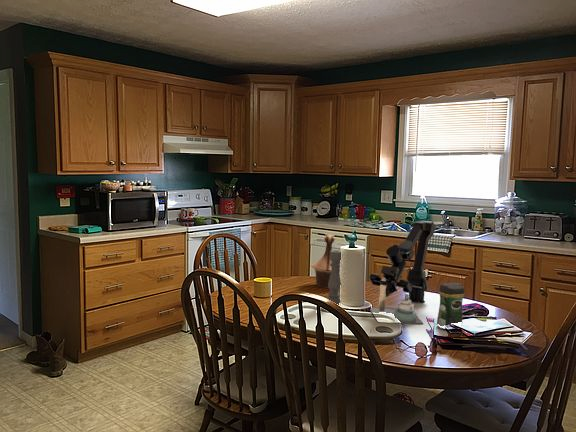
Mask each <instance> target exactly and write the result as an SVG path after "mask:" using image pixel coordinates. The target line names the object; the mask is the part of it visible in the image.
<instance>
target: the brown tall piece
mask: <svg viewBox="0 0 576 432" xmlns="http://www.w3.org/2000/svg"><path fill="white" fill-rule="evenodd" d="M324 236H325V237H323V239H324V241H325V243H326V247H325V252H324V253H323V255H322V257H321V258H320V259H319V260H318V261H316V262H315V263H313V264H311V265H310V267H311V268H313V269H314V271H315V285H316V286H317V287H320V288H323V289H324V288H325V289H329V287H328V283H329V279H330V276H331V266H330V264H331V263H332V262H331V258H330V251H331V250H333V246H332V245H333V243H334V242H335V241H336V238H335V235H334V234H331V233H329V234H324Z"/></svg>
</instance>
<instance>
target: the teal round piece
mask: <svg viewBox="0 0 576 432" xmlns="http://www.w3.org/2000/svg"><path fill="white" fill-rule="evenodd" d="M416 315H417V312H416V311H415V310H413V313H411V314H405V313H401V312H398V310H395V313H394V316H395V318H397V319H398V320H399V321H401V322H415V321H416Z"/></svg>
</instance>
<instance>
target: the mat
mask: <svg viewBox="0 0 576 432" xmlns="http://www.w3.org/2000/svg"><path fill="white" fill-rule="evenodd" d="M370 308H371V309H370V310H369V311H370V312H375V313H379V312H386V313H392V314H394V313H395V310H390V309H385V311H379V307H370ZM400 322H401V321H400ZM401 324H405V325H407V324H408V325H424V322H423V320H422V319H420V318H419V316H418V315H417V314H416V321H415V322H401ZM401 324H400V325H401Z"/></svg>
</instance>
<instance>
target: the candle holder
mask: <svg viewBox="0 0 576 432" xmlns="http://www.w3.org/2000/svg"><path fill="white" fill-rule="evenodd" d="M341 251H342V250H338V249H337V250H336V249H332V250H331V251H330V258H331V262H332V263H331V264H330V266H331V276H330V279H329V283H328V287H329V288H328V289H329V292H328V293H327V296H326V297H327V298H326V300H327V299H329V300H331V301H333V302H335V303H336V304H338V305H339V303H340V304H341V301H340V298H341V294H340V289H341V288H340V285H341V286H342V281H341V280H342V279H341V275H340V271H341V270H340V264H341V262H340V260H341ZM341 261H342V260H341Z"/></svg>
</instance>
